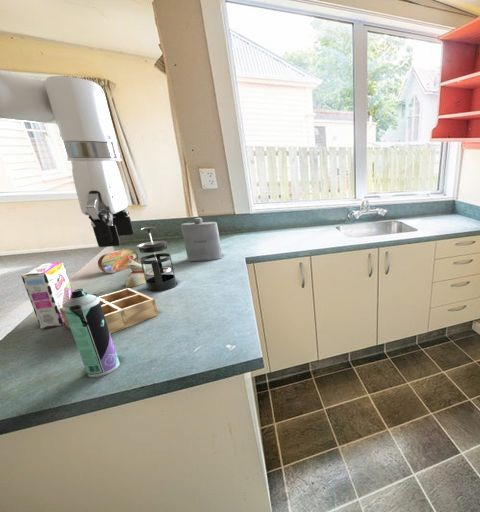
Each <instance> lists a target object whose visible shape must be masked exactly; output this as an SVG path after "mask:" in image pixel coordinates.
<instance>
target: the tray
mask: <svg viewBox="0 0 480 512" xmlns="http://www.w3.org/2000/svg"><path fill="white" fill-rule="evenodd" d="M97 297H98V299H99V301H100V304H101V307H102V310H103V313H104V316H105V320H106V323H107V326H108V329H109V332H110V335H112V334H114V333H116V332H119V331H122V330H124V329H126V328H129V327H132V326H135V325H137V324H139V323H143V322H145V321H147V320H150V319H152V318H156V317H158V316H159V310H158V307H157V304H156V300H155V299H156V298H153V297H152V296H148V295H146V294H144V293H142V292H140V291H137V290H135V289H132V288H131V287H130V288H127V287H126V288H123V289H120V290H117V291H113V292H110V293H107V294H104V295H101V296H100V295H99V296H97ZM60 311H61V314H62V317H63V319H64V322H65V323H64V324H65V326H66V327H67V328H68V329H70V330H71V328H70V325H69V322H68V320H67V317H66V314H65V311H64V309H63V308H60Z"/></svg>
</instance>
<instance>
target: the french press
mask: <svg viewBox="0 0 480 512" xmlns="http://www.w3.org/2000/svg"><path fill="white" fill-rule="evenodd" d="M156 228H157V227H156V226H146V227H143V228H141V229H140V230H141V231H147V233H148V235H149V239H150V241H146V242H142V243H138V244H137V245H136V248H138V250H139V253H141V254H148V255H144V256H141V257H140V258H139V260H140V264H141V265H142V269H143V273H144V276H145V280H146V282H145V284H146V290H147V291H148V292H151V293H156V292H157V293H158V292H163V291H167V290H171V289H173V288H175V287H177V286H178V281H177V279H176V274H175V269H174V266H173V261H172V257H171V253H167V252H163V251H166V250H167V249H168V246H167V245H168V241H165V240H154V241H153V237H152V230H155V229H156ZM158 252H159V253H158ZM160 252H161V253H160ZM161 257H162V258H161ZM149 259H150V260H149ZM151 259H152V260H151ZM168 261H170V265H171V267H170V266H163V263H164V262H168ZM143 265H151V269H148V270H146V271H145V270H144V267H143ZM147 277H148V278H147Z"/></svg>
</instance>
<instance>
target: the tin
mask: <svg viewBox="0 0 480 512" xmlns="http://www.w3.org/2000/svg"><path fill="white" fill-rule="evenodd" d="M129 260H133V261H135V262H137V263H139V255H138V252H137V251H136V250H134V249H132V248H122V249H119V250H114V251H112V252H108V253H105V254H102V255H101V256H100V257H99V258H98V259H97V267H98V268H99V270H100V271H101V272H103V273H106V274H107V273H108V274H115V273H119V272H121V271H125V270H127V269H129V268H128V267H127V264H128V263H129Z"/></svg>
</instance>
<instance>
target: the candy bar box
mask: <svg viewBox="0 0 480 512" xmlns="http://www.w3.org/2000/svg"><path fill="white" fill-rule="evenodd" d="M20 277H21V280H22V283H23V285H24V288H25V290H26V293H27V296H28V299H29V301H30V304H31V306H32V309H33V312H34V315H35V318H36V319H37V322H38V325H39V328H40V329H41V330H43V329H49V328H56V327H61V326H64V324H65V322H64V319H63V317H62V314H61V311H60V308H64V306H63V303H65V302H66V301H68V300H69V299H70V297H71V295H72V292H73V289H72V286H71V283H70V279H69V277H68V273H67V270H66V267H65V264H64V262H63V261H60V262H59V261H58V262H49V263H42V264H40V265H38V266H36V267H34V268H33V269H31V270H28V271H27V272H25V273H23V274H21V275H20Z"/></svg>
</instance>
